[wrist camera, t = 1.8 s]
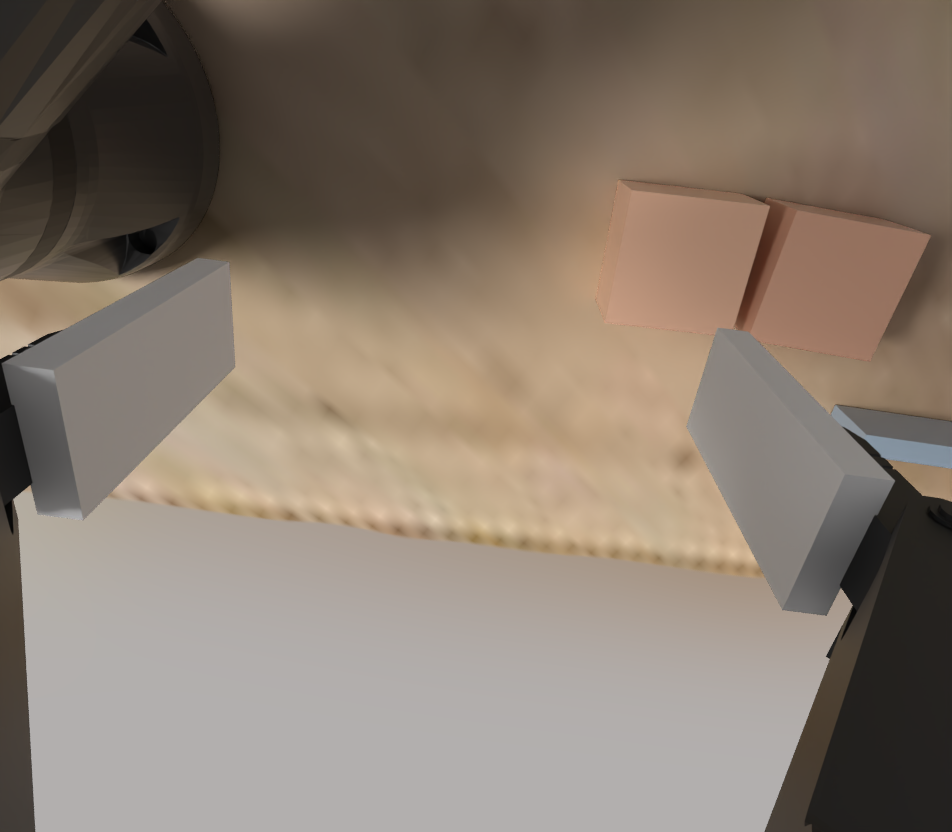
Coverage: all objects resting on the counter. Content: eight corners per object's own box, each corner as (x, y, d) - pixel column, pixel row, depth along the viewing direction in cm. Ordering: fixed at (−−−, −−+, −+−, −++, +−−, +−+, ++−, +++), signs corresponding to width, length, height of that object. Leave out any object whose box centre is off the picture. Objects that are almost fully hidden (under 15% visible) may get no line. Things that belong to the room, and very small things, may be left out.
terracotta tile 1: (595, 298, 34) (605, 322, 30) (617, 179, 31) (631, 190, 27) (707, 311, 34) (730, 337, 30) (740, 193, 31) (770, 205, 27)
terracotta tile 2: (722, 313, 34) (747, 339, 30) (764, 197, 31) (797, 210, 27) (832, 333, 34) (870, 361, 30) (883, 218, 31) (931, 235, 28)
